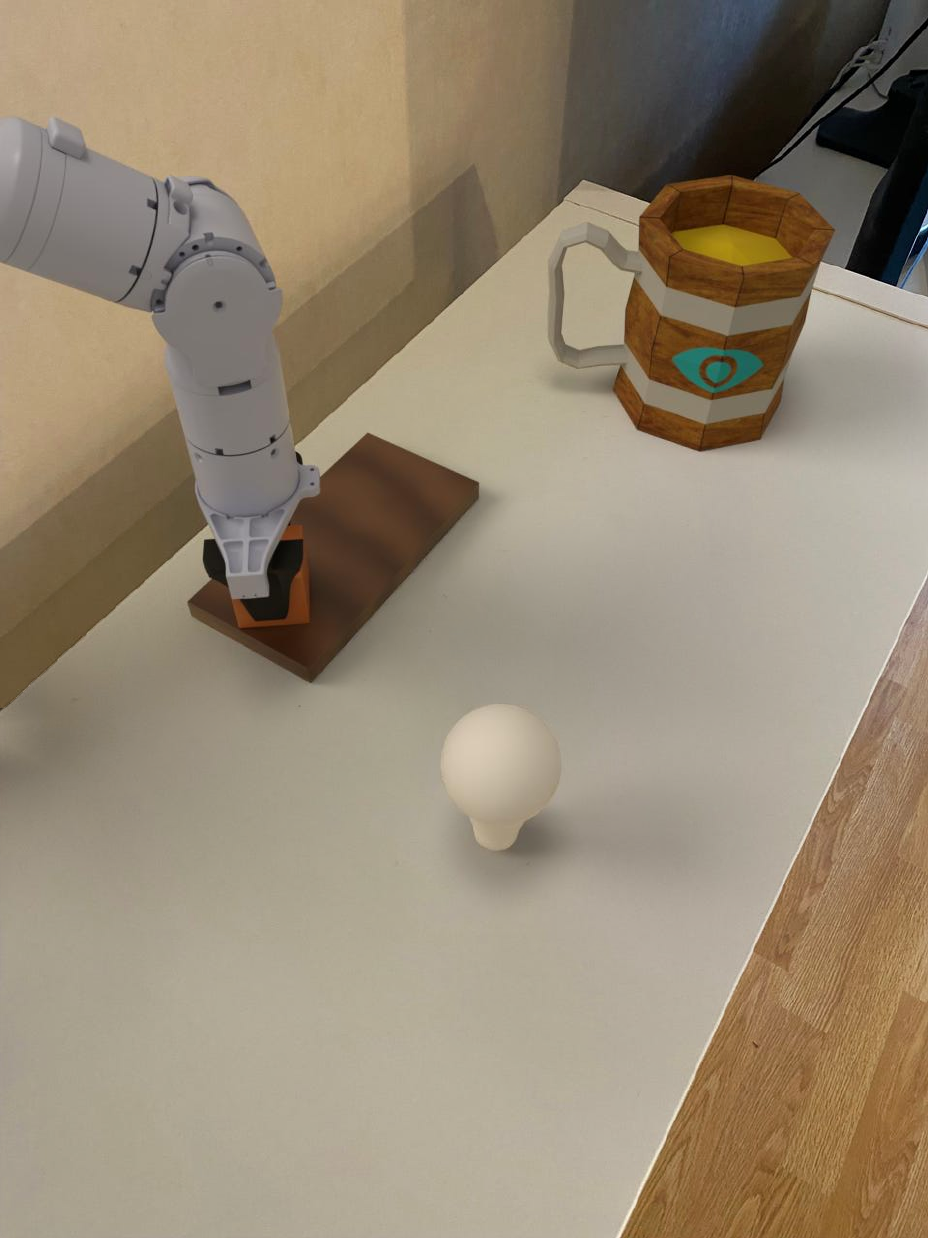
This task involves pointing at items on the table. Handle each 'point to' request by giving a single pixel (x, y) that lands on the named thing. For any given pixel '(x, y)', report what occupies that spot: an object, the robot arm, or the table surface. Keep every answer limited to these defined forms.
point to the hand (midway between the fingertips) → (271, 585)
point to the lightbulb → (500, 770)
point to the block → (298, 593)
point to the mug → (704, 307)
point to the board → (352, 550)
